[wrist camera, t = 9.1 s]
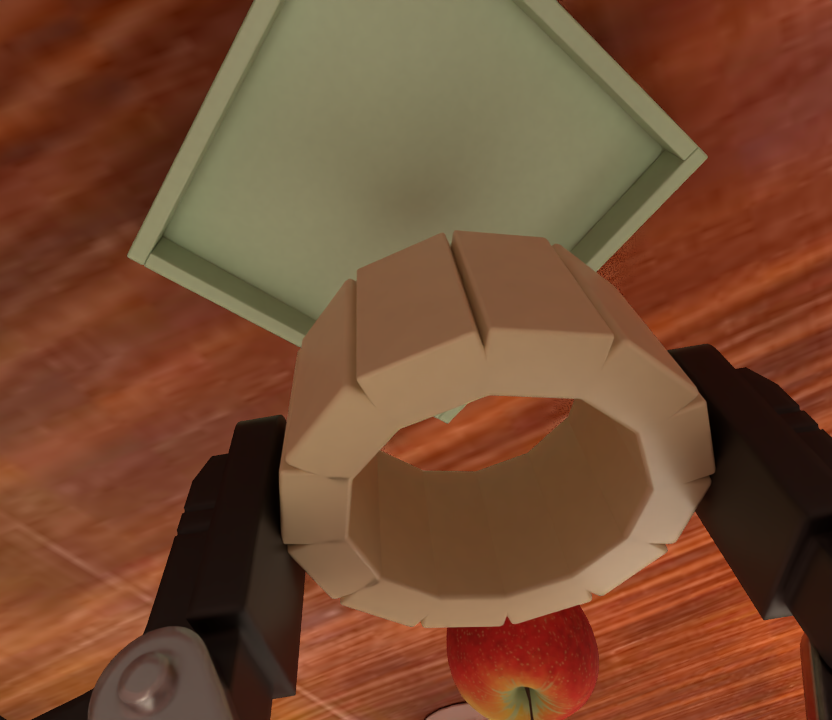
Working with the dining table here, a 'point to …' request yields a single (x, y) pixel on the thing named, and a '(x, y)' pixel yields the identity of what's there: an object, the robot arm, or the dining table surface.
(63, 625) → the dining table surface
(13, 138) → the dining table surface
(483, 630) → the apple
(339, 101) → the tray
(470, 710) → the bottle
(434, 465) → the dining table surface
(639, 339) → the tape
